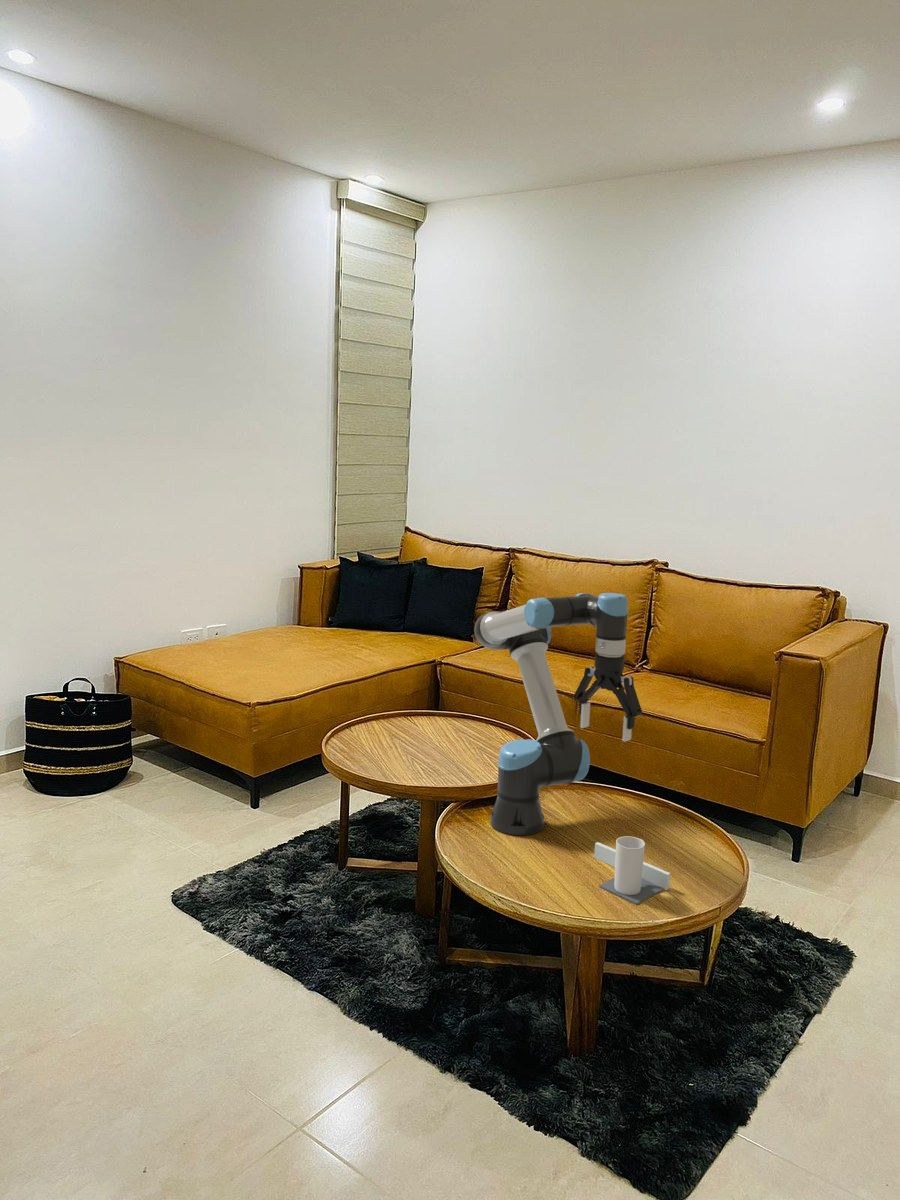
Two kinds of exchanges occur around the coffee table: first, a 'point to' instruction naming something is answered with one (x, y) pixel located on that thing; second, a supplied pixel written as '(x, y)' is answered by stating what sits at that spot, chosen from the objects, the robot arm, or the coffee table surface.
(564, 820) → the coffee table surface
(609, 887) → the mat
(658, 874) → the wall
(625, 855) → the mug
